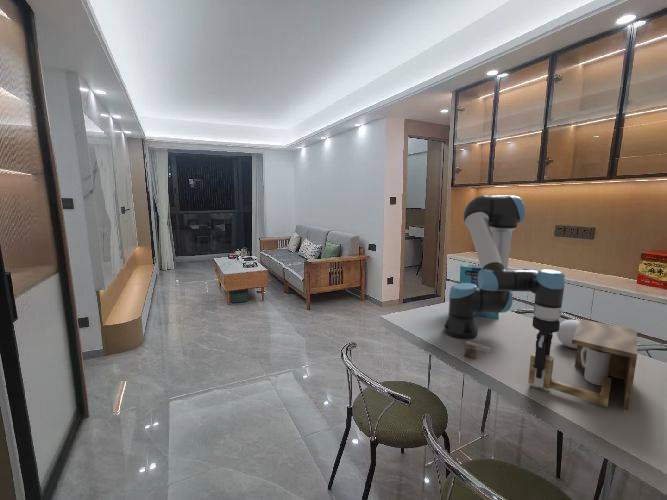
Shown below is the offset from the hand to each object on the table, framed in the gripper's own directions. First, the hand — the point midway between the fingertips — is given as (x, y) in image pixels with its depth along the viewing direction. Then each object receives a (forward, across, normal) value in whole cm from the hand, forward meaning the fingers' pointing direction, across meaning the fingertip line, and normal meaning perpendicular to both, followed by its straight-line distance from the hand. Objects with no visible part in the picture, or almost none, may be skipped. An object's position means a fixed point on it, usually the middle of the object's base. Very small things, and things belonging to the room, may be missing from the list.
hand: (539, 382), depth 113 cm
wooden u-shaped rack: (0, +5, -7) cm, 9 cm away
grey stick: (+2, +16, +26) cm, 31 cm away
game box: (+2, +58, +40) cm, 71 cm away
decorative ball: (+2, +45, -4) cm, 45 cm away
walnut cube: (+2, +8, +26) cm, 27 cm away
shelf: (+2, +15, -15) cm, 21 cm away
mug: (+2, +19, -12) cm, 23 cm away
